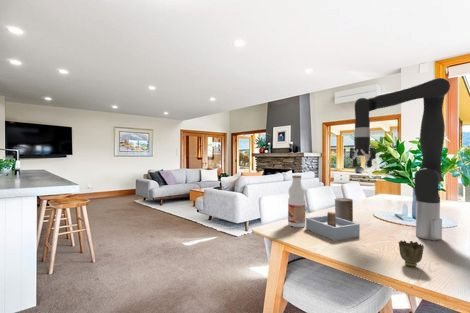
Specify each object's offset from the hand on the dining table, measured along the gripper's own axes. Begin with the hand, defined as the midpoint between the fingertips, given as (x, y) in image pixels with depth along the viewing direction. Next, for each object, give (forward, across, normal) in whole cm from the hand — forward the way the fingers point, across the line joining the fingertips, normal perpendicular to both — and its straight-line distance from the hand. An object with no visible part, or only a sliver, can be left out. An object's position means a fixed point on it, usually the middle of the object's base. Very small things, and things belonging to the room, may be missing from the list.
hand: (362, 167), depth 136 cm
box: (+33, +2, +19) cm, 38 cm away
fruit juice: (+33, +20, +27) cm, 47 cm away
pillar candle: (+33, +14, -2) cm, 36 cm away
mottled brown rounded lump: (+33, -39, +22) cm, 56 cm away
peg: (+33, +2, +19) cm, 38 cm away
